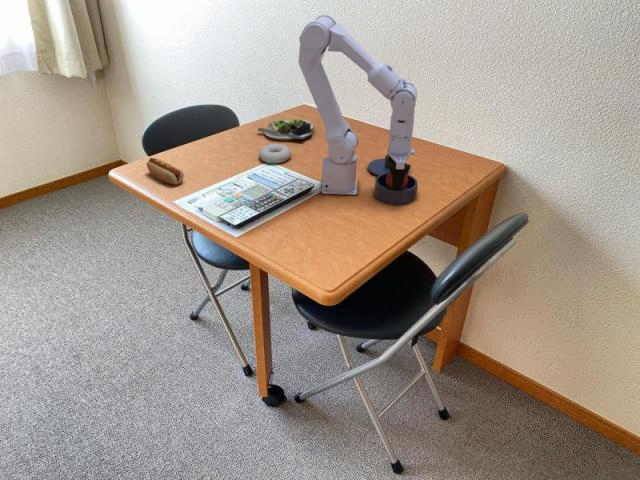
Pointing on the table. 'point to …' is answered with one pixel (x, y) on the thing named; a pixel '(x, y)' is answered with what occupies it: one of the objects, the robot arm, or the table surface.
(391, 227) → the table surface
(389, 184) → the onion
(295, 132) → the salad plate
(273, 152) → the donut
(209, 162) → the table surface
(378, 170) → the lid
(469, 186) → the table surface
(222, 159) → the table surface
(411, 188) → the pot
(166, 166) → the food
